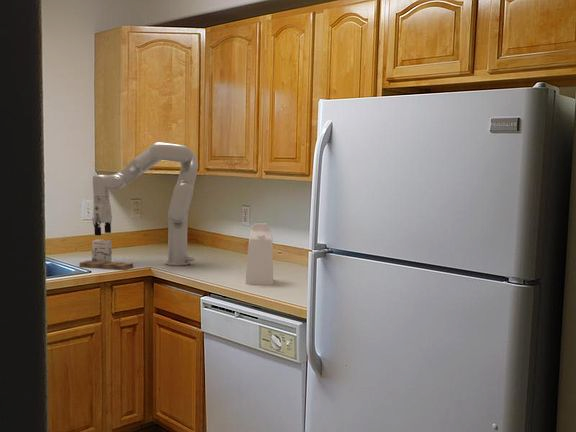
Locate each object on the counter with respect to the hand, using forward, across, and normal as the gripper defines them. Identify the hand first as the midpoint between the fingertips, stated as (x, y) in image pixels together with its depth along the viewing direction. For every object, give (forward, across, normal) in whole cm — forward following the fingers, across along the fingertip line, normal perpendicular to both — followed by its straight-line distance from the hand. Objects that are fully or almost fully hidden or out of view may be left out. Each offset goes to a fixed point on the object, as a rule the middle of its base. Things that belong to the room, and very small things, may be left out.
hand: (103, 234), depth 300 cm
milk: (+18, -17, -84) cm, 88 cm away
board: (+15, -8, -6) cm, 18 cm away
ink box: (+15, 0, +1) cm, 15 cm away
